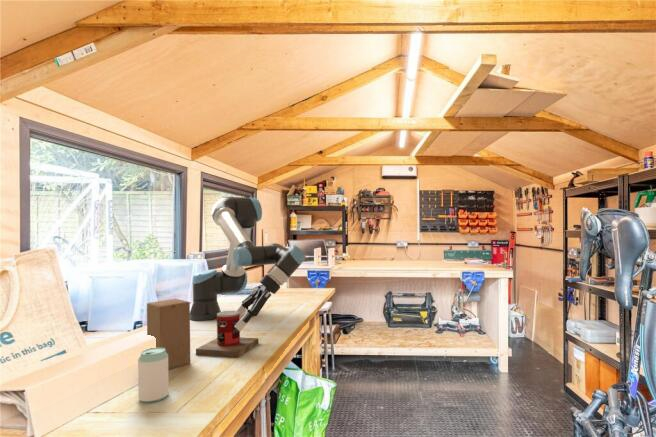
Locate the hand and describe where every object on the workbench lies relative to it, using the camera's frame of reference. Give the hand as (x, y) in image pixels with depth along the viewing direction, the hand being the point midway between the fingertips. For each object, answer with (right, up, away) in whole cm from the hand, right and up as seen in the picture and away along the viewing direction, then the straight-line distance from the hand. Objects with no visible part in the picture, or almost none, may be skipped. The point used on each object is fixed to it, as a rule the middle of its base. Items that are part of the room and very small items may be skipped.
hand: (234, 324), depth 136 cm
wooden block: (-17, -9, -15) cm, 25 cm away
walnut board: (-2, -9, -1) cm, 9 cm away
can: (-11, -8, -40) cm, 42 cm away
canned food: (-2, -7, -1) cm, 7 cm away
